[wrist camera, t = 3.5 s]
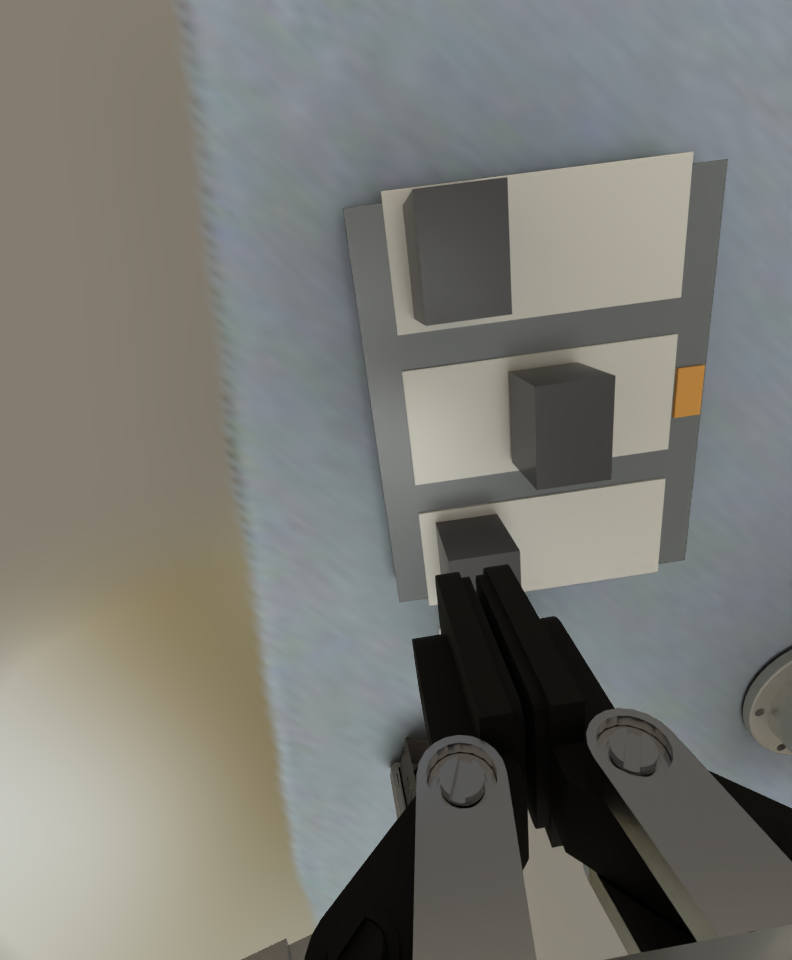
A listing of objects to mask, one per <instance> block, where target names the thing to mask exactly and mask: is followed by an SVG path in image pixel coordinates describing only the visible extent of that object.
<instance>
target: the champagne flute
mask: <svg viewBox="0 0 792 960" xmlns="http://www.w3.org/2000/svg"><path fill="white" fill-rule="evenodd" d="M439 635H441V630H440V629H439ZM528 837H529V860H528V862H527V864H526V866H525V868H524V870H523V877H524V883H525V889H526V896H527V902H528V908H529V915H530V921H531V927H532V934H533V940H534V946H535V953H536V959H537V960H605V959H610V958H615V957H621V956H626V955H628V953H627V951H626V949H625V948H624V946H623V944H622V942H621V940H620V938H619V937H618V935H617V933H616V931H615V929H614V927H613V926H612V924H611V922H610V920H609V918H608V916H607V914H606V913H605V911H604V909H603V907H602V905H601V903H600V902H599V900H598V898H597V896H596V894H595V892H594V891H593V889H592V887H591V885H590V883H589V881H588V879H587V876H586V874H585V871H584V869H583V863H581V862H580V861H578V860H577V859H575V858H574V857H572V856H570V855H569V854H567V853H566V852H565V850H564V847H563V846H559V847H553V848H552V847H551V844H550V841H549V838H548V836H547V833H546V830H545V828H540V829H536V828H535V827H534V825H533V822H532V820H531V817H530V814H529V811H528Z"/></svg>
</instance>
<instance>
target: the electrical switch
mask: <svg viewBox="0 0 792 960" xmlns="http://www.w3.org/2000/svg"><path fill="white" fill-rule="evenodd" d="M421 744H422V745H421ZM428 748H429V744H428V739H414V738H406V740H405V747H404V752H403V754H402V759H401V763H399V762H395V763H394V764H393V765H392V766H391V773H390V778H391V784H392V790H393V796H394V802H395V807H396V813H397V819H398V818H399V817H400V815H401V814H402V813H403V811H404V810H405V809H406V807H407V806H408V805H409V804H410V802H411V801H412V800H413V798H414V797H415V796H416V778H417V770H418V765H419V761H420V760H421V758H422V756H423V754H424V752H425V751H426V750H427V749H428ZM413 753H414V754H413ZM415 763H416V764H415Z"/></svg>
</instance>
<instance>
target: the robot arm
mask: <svg viewBox="0 0 792 960" xmlns="http://www.w3.org/2000/svg"><path fill="white" fill-rule="evenodd" d="M435 583H436V593H437V602H438V611H439V621H440V630H441V635H434V636H428V637H422V638H415V639H412V642H413V650H414V658H415V665H416V672H417V679H418V685H419V692H420V698H421V704H422V710H423V715H424V721H425V727H426V732H427V738H428V744H429V748H428V749H427V750H426V751H425V752H424V754H423V756H422V758H421V760H420V761H419V765H418V770H417V778H416V796H415V797H414V798H413V800H412V801H411V802H410V804H409V805H408V806H407V807H406V809H405V810H404V811H403V813H402V814H401V815H400V817H399V818H398V819H397V821H396V822H395V823H394V824H393V826H392V827H391V828H390V830H389V831H388V832H387V834H386V835H385V836H384V838H383V839H382V840H381V841H380V843H379V844H378V845H377V847H376V848H375V849H374V851H373V852H372V853H371V855H370V856H369V857H368V858H367V860H366V861H365V862H364V864H363V865H362V866H361V868H360V869H359V870H358V872H357V873H356V874H355V875H354V877H353V878H352V879H351V881H350V882H349V883H348V885H347V886H346V887H345V889H344V890H343V891H342V892H341V894H340V895H339V896H338V898H337V899H336V900H335V902H334V903H333V904H332V906H331V907H330V908H329V909H328V911H327V912H326V913H325V915H324V916H323V917H322V919H321V920H320V922H319V924H318V925H317V927H316V929H315V930H314V932H313V934H312V935H309V936H307V937H305V938H303V939H301V940H299V941H297V942H295V943H292V944H290V945H288V942H287V939H284V940H282V941H280V942H278V943H276V944H274V945H271V946H269V947H267V948H265V949H263V950H261V951H259V952H257V953H255V954H252V955H250V956H248V957H246V958H244V959H242V960H537V959H536V953H535V946H534V940H533V934H532V927H531V921H530V915H529V908H528V902H527V896H526V889H525V883H524V877H523V870H524V868H525V866H526V864H527V862H528V860H529V837H528V811H529V814H530V817H531V820H532V822H533V825H534V827H535V828H536V829H540V828H545V830H546V833H547V836H548V838H549V841H550V844H551V847H552V848H553V847H559V846H563V847H564V850H565V852H566V853H567V854H569V855H570V856H572V857H574V858H575V859H577V860H578V861H580V862H581V863H583V869H584V871H585V874H586V876H587V879H588V881H589V883H590V885H591V887H592V889H593V891H594V892H595V894H596V896H597V898H598V900H599V902H600V903H601V905H602V907H603V909H604V911H605V913H606V914H607V916H608V918H609V920H610V922H611V924H612V926H613V927H614V929H615V931H616V933H617V935H618V937H619V938H620V940H621V942H622V944H623V946H624V948H625V949H626V951H627V953H628V955H626V956H621V957H615V958H610V959H605V960H792V808H790V807H787V806H785V805H783V804H781V803H779V802H776V801H774V800H772V799H770V798H768V797H765V796H763V795H761V794H759V793H757V792H754V791H752V790H750V789H748V788H746V787H743V786H741V785H739V784H737V783H735V782H732V781H730V780H728V779H726V778H724V777H721V776H719V775H717V774H715V773H713V772H710V771H708V770H707V769H706V768H705V767H704V766H703V765H702V763H701V762H700V761H699V760H698V759H697V758H696V757H695V756H694V755H693V754H692V753H691V751H690V750H689V749H688V748H687V747H686V746H685V745H684V744H683V743H682V742H681V741H680V739H679V738H678V737H677V736H676V735H675V734H674V733H673V732H672V731H671V730H670V729H669V728H668V727H666V726H665V725H664V724H663V723H662V722H661V721H659V720H657V719H655V718H653V717H652V716H650V715H648V714H646V713H642V712H639V711H636V710H633V709H622V708H617V709H615V708H614V707H613V705H612V704H611V702H610V700H609V699H608V697H607V696H606V694H605V692H604V691H603V689H602V687H601V686H600V684H599V683H598V681H597V679H596V678H595V676H594V675H593V673H592V671H591V670H590V668H589V667H588V665H587V663H586V662H585V660H584V658H583V657H582V655H581V654H580V652H579V650H578V649H577V647H576V646H575V644H574V642H573V641H572V639H571V638H570V636H569V634H568V633H567V631H566V630H565V628H564V626H563V625H562V623H561V622H560V620H559V619H558V618H557V617H555V616H553V617H547V618H541V619H539V617H538V615H537V613H536V612H535V610H534V608H533V606H532V605H531V603H530V601H529V599H528V598H527V596H526V594H525V592H524V590H523V589H522V587H521V585H520V583H519V582H518V580H517V578H516V576H515V575H514V573H513V571H512V569H511V567H510V566H509V565H508V564H505V565H498V566H492V567H485V568H484V569H483V574H482V575H476V591H475V589H474V586H473V584H472V581H471V579H470V577H463V578H462V577H461V575H460V573H459V572H453V573H447V574H440V575H435ZM743 720H744V723H745V727H746V728H747V730H748V731H749V733H750V734H751V735H752V736H753V738H754V739H755V740H756V741H757V742H758V743H759V744H760V745H761V746H763V747H764V748H766V749H768V750H770V751H772V752H775V753H780V754H786V755H792V649H791V650H789V651H788V652H786V653H784V654H783V655H781V656H779V657H778V658H777V659H776V660H774V661H773V662H772V663H771V664H769V665H768V666H767V667H766V668H765V669H764V670H763V671H762V672H761V673H760V674H759V675H758V677H757V678H756V679H755V681H754V682H753V684H752V685H751V687H750V689H749V691H748V693H747V695H746V697H745V701H744V706H743Z"/></svg>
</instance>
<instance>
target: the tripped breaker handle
mask: <svg viewBox="0 0 792 960" xmlns="http://www.w3.org/2000/svg"><path fill="white" fill-rule="evenodd" d="M508 373H509V399H510V425H511V451H512V463H513V464H514V465H515V466H516V467H517V468H518V470H519V471H520V472H521V473H522V474H523V475H524V476H525V477H526V479H527V480H528V481H529V482H530V483H531V484H532V485H533V487H534V488H535V489H536V490H543V489H550V488H557V487H564V486H570V485H577V484H584V483H591V482H598V481H605V480H611V473H612V449H613V425H614V401H615V377H616V376H615V375H612V374H609V373H607V372H604V371H601V370H598V369H595V368H592V367H590V366H587V365H584V364H581V363H578V362H575V363H568V364H561V365H553V366H546V367H539V368H532V369H524V370H517V371H510V372H508Z"/></svg>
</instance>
